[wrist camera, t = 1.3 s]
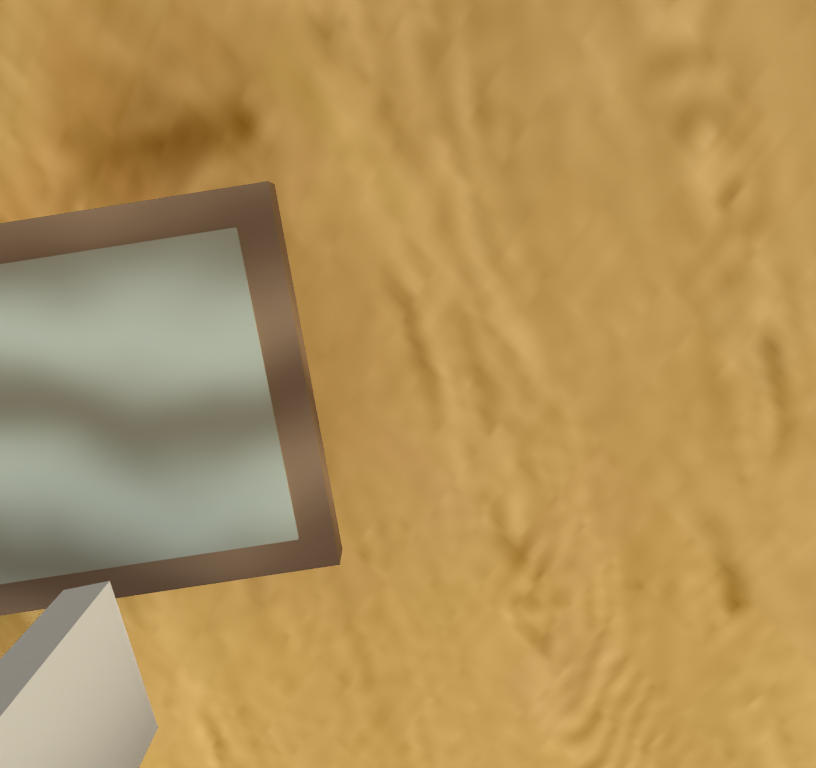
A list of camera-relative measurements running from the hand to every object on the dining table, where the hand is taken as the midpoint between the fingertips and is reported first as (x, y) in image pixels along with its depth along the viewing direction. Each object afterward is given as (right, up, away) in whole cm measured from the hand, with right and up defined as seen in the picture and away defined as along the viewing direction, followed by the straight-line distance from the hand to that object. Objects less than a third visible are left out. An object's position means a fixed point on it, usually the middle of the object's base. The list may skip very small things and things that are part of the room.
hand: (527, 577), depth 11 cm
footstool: (-14, +3, +24) cm, 28 cm away
